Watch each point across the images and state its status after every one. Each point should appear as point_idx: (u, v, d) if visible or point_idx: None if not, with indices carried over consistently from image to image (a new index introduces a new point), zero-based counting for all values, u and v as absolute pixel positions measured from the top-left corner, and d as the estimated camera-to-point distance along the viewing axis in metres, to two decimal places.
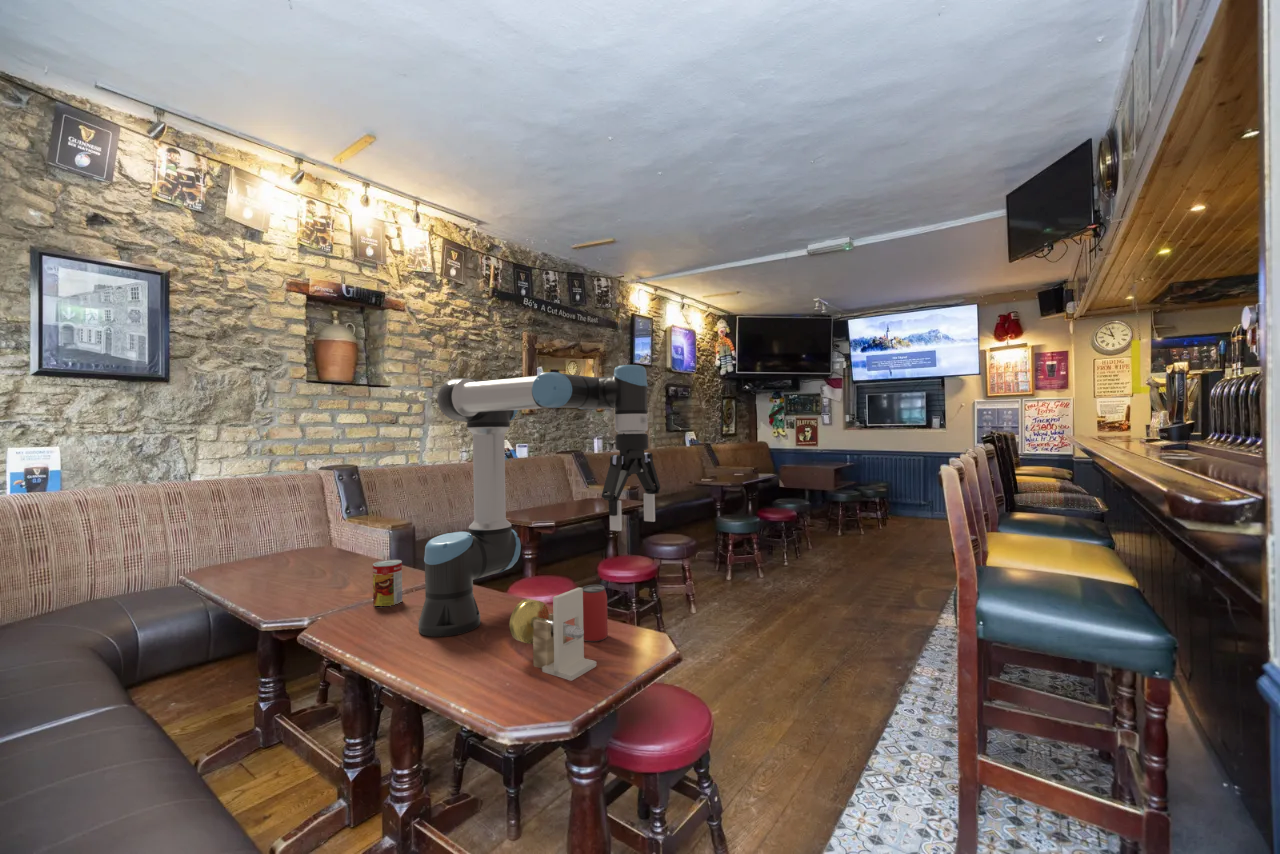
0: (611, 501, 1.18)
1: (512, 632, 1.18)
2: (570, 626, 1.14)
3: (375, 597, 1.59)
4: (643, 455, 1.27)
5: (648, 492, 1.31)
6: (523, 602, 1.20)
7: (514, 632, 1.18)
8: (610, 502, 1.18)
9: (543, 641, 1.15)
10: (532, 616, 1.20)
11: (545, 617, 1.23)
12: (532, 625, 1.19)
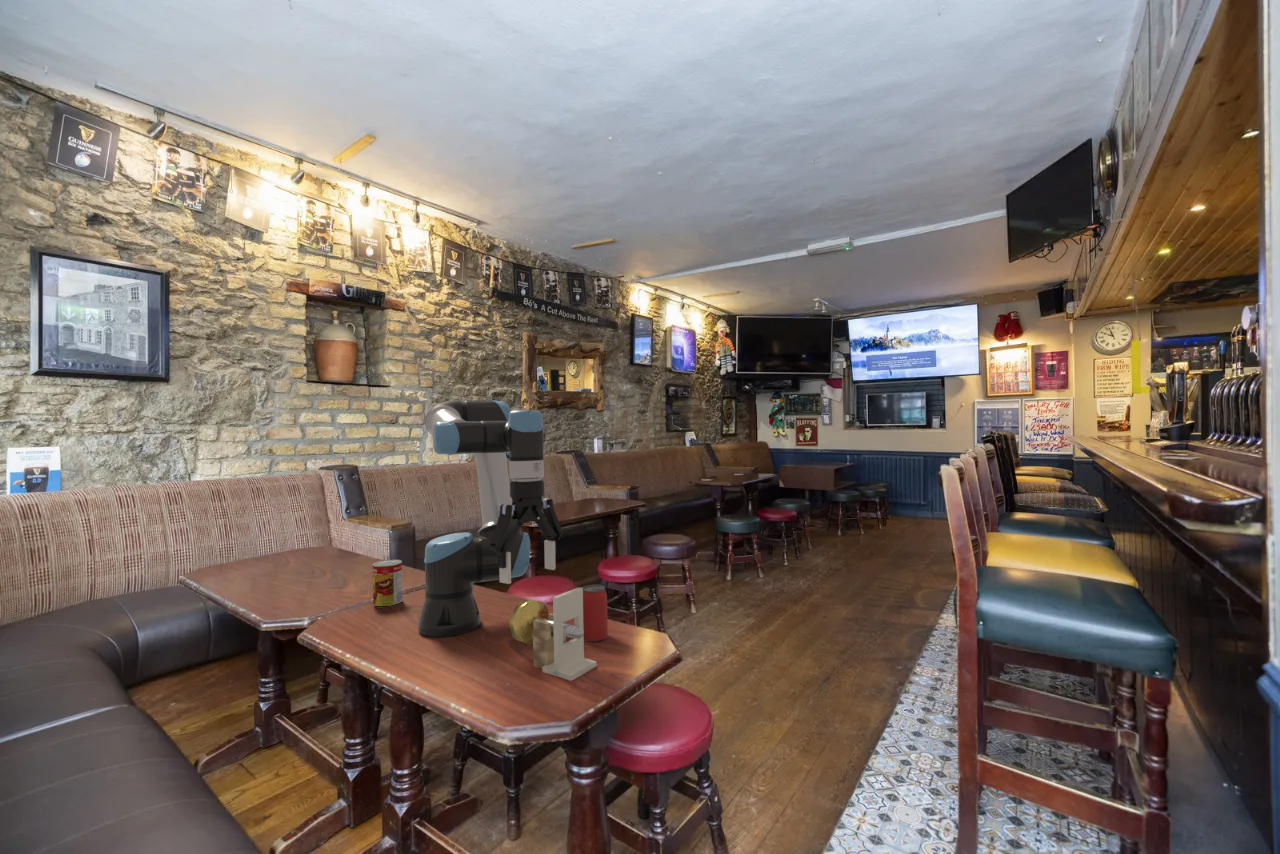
0: (499, 553, 1.14)
1: (512, 632, 1.18)
2: (570, 626, 1.14)
3: (375, 597, 1.59)
4: (540, 502, 1.23)
5: (549, 539, 1.27)
6: (523, 602, 1.20)
7: (514, 632, 1.18)
8: (498, 554, 1.14)
9: (543, 641, 1.15)
10: (532, 616, 1.20)
11: (545, 617, 1.23)
12: (532, 625, 1.19)
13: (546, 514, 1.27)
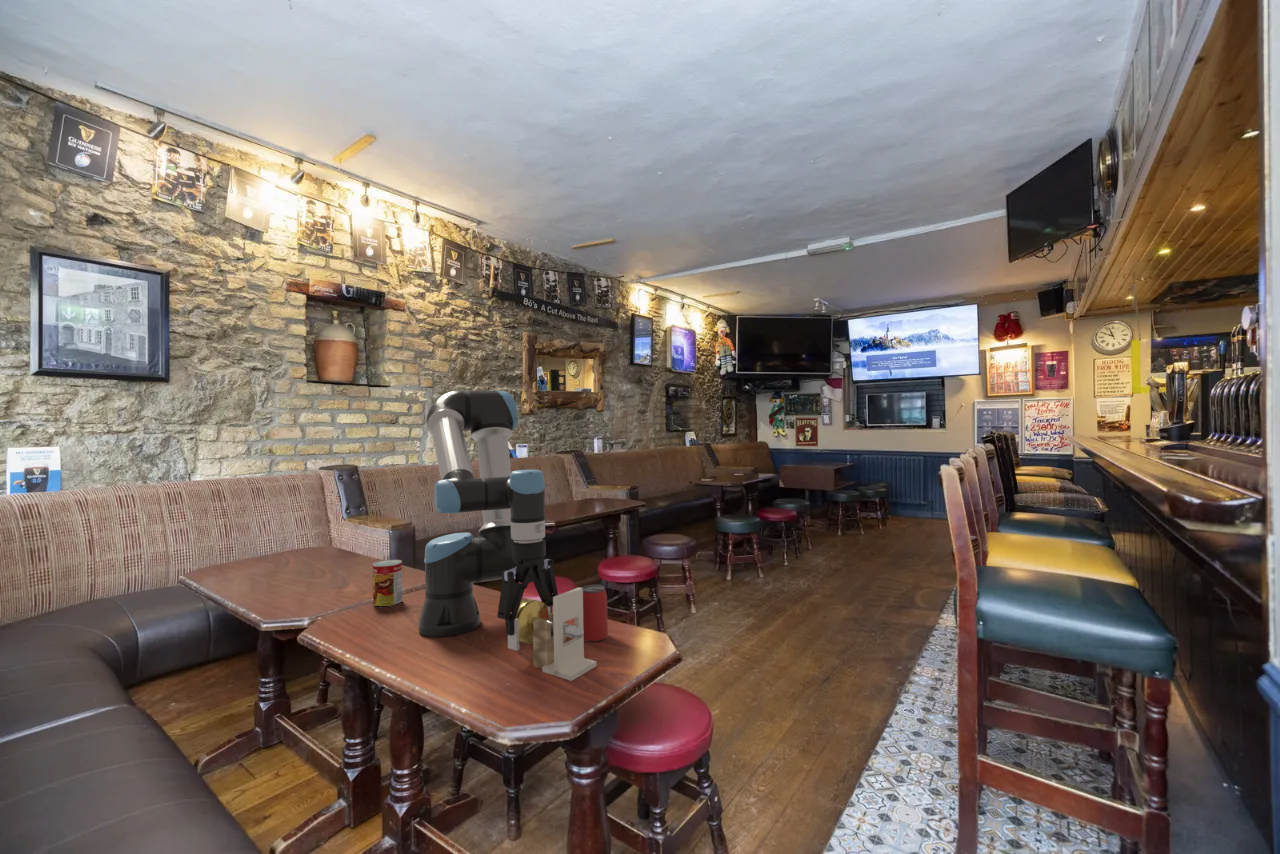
0: (507, 620, 1.16)
1: None
2: (570, 626, 1.14)
3: (375, 597, 1.59)
4: (542, 561, 1.23)
5: None
6: (523, 602, 1.20)
7: None
8: (507, 621, 1.16)
9: (543, 641, 1.15)
10: (532, 616, 1.20)
11: (545, 617, 1.23)
12: (532, 625, 1.19)
13: (545, 575, 1.26)
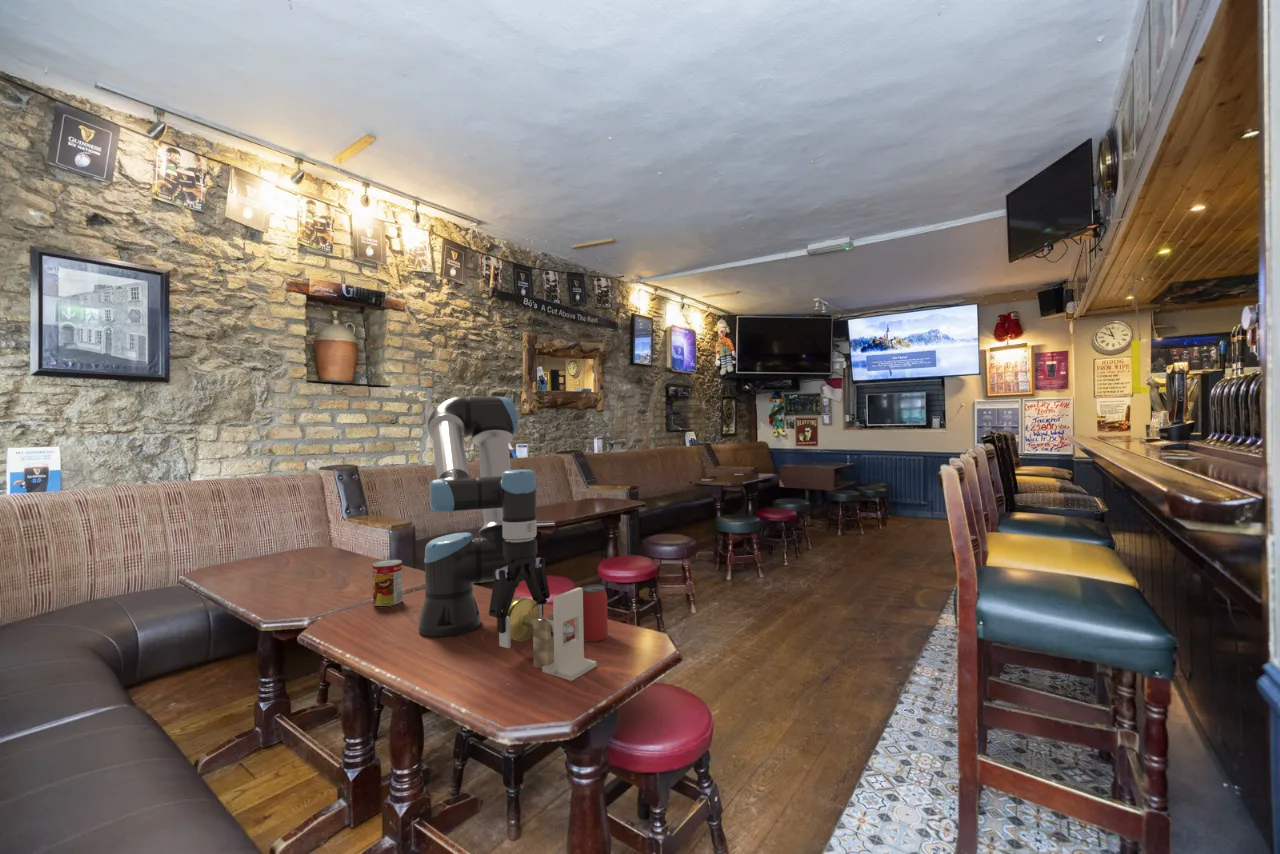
0: (499, 618, 1.17)
1: None
2: None
3: (375, 597, 1.59)
4: (533, 560, 1.25)
5: (536, 602, 1.27)
6: (514, 600, 1.22)
7: None
8: (498, 619, 1.17)
9: (543, 641, 1.15)
10: (523, 614, 1.21)
11: (536, 615, 1.25)
12: (523, 623, 1.20)
13: (537, 574, 1.28)
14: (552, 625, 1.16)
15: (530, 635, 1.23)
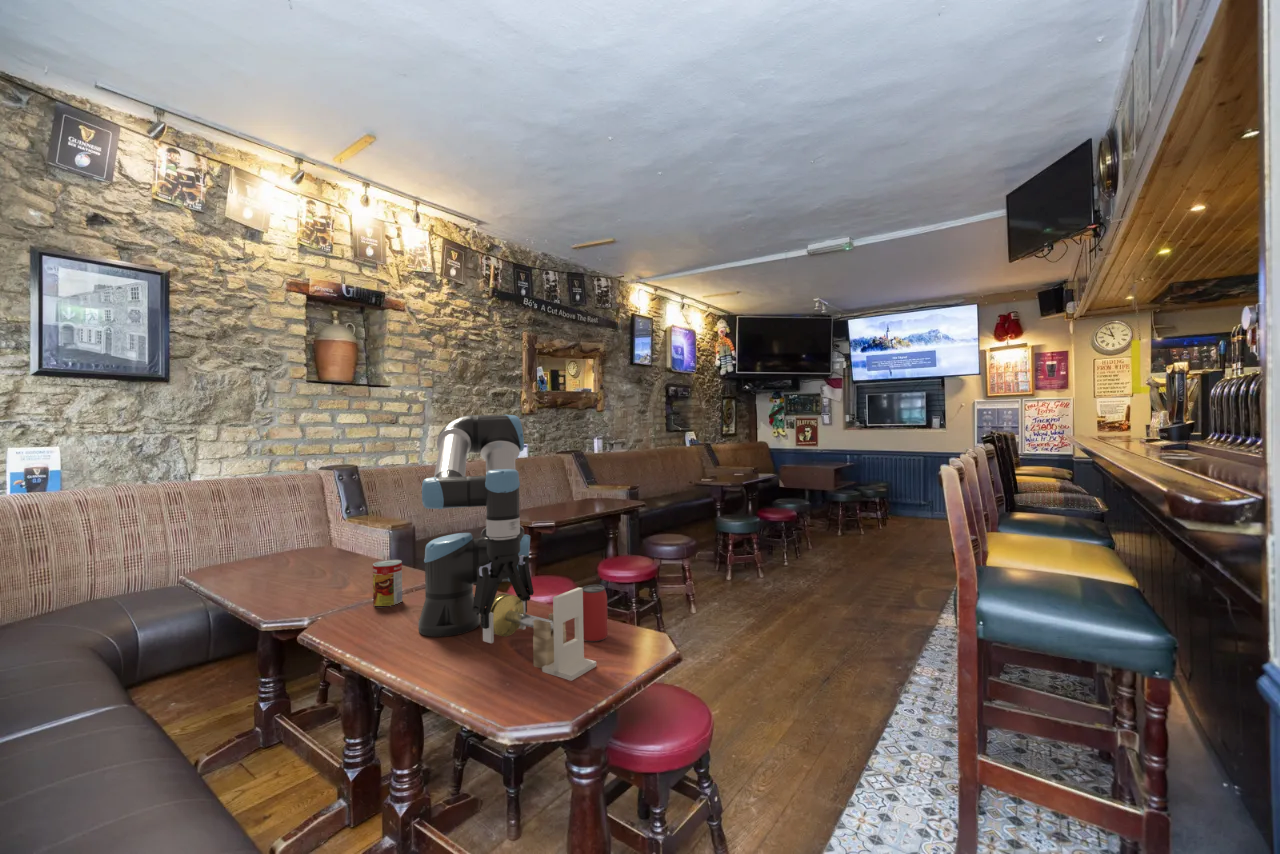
0: (482, 614, 1.20)
1: None
2: (542, 619, 1.18)
3: (375, 597, 1.59)
4: (517, 557, 1.28)
5: (520, 598, 1.30)
6: (498, 596, 1.25)
7: None
8: (481, 615, 1.20)
9: (543, 641, 1.15)
10: (507, 610, 1.24)
11: (520, 611, 1.28)
12: (506, 619, 1.23)
13: (520, 571, 1.31)
14: None
15: (513, 631, 1.26)
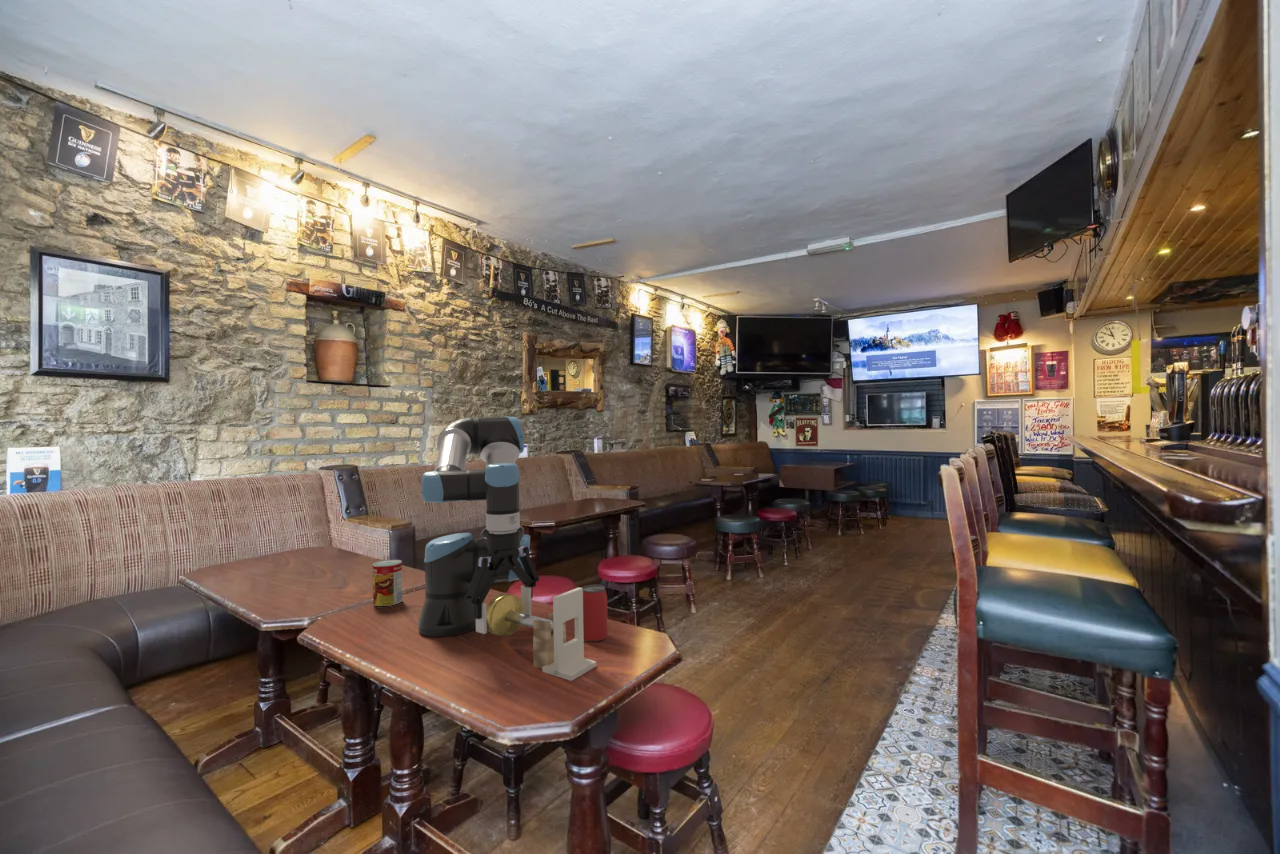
0: (475, 605, 1.19)
1: (487, 625, 1.22)
2: (542, 619, 1.18)
3: (375, 597, 1.59)
4: (516, 551, 1.28)
5: (525, 585, 1.32)
6: (498, 596, 1.25)
7: (489, 625, 1.22)
8: (474, 605, 1.19)
9: (543, 641, 1.15)
10: (507, 610, 1.24)
11: (520, 611, 1.28)
12: (506, 619, 1.23)
13: (523, 561, 1.31)
14: None
15: (513, 631, 1.26)
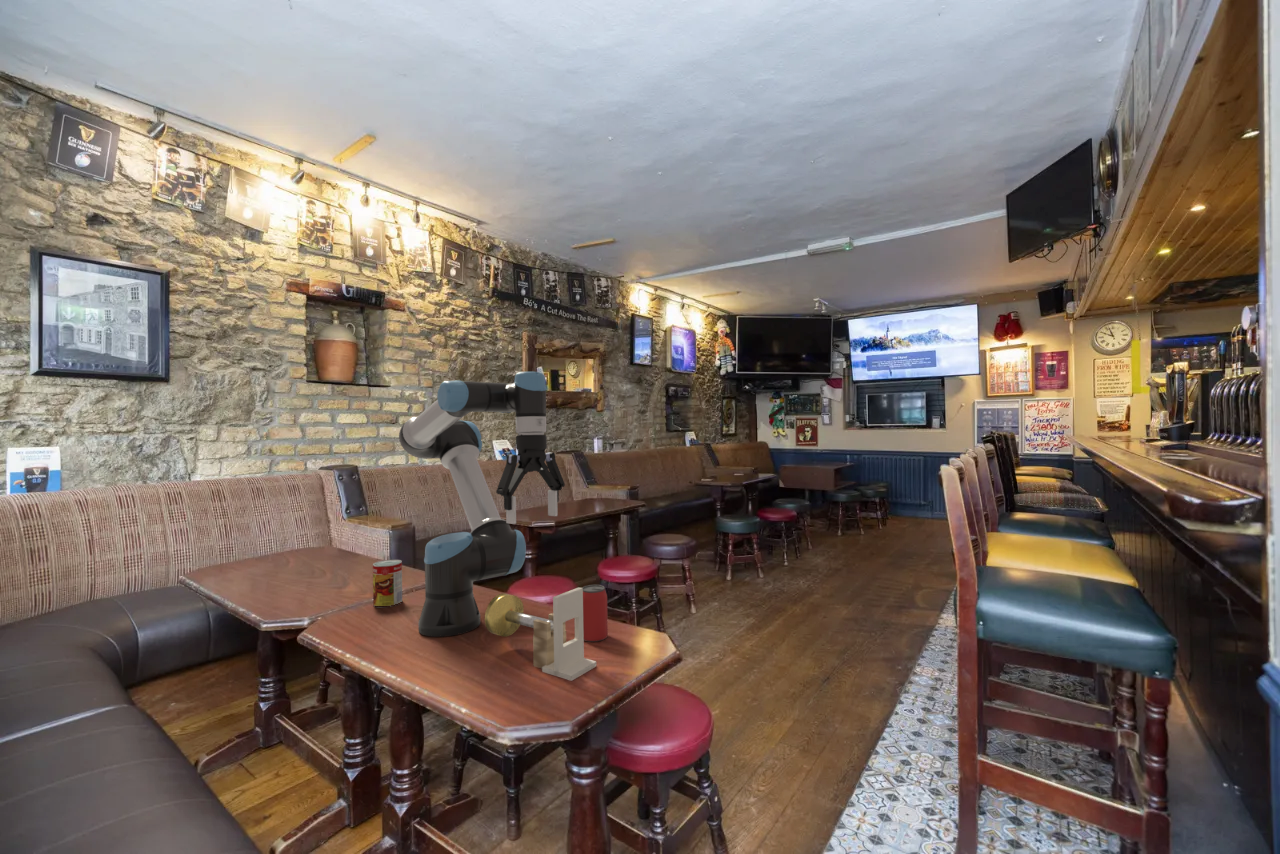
0: (505, 496, 1.29)
1: (487, 625, 1.22)
2: (542, 619, 1.18)
3: (375, 597, 1.59)
4: (543, 454, 1.38)
5: (552, 489, 1.42)
6: (498, 596, 1.25)
7: (489, 625, 1.22)
8: (505, 497, 1.29)
9: (543, 641, 1.15)
10: (507, 610, 1.24)
11: (520, 611, 1.28)
12: (506, 619, 1.23)
13: (549, 467, 1.41)
14: None
15: (513, 631, 1.26)
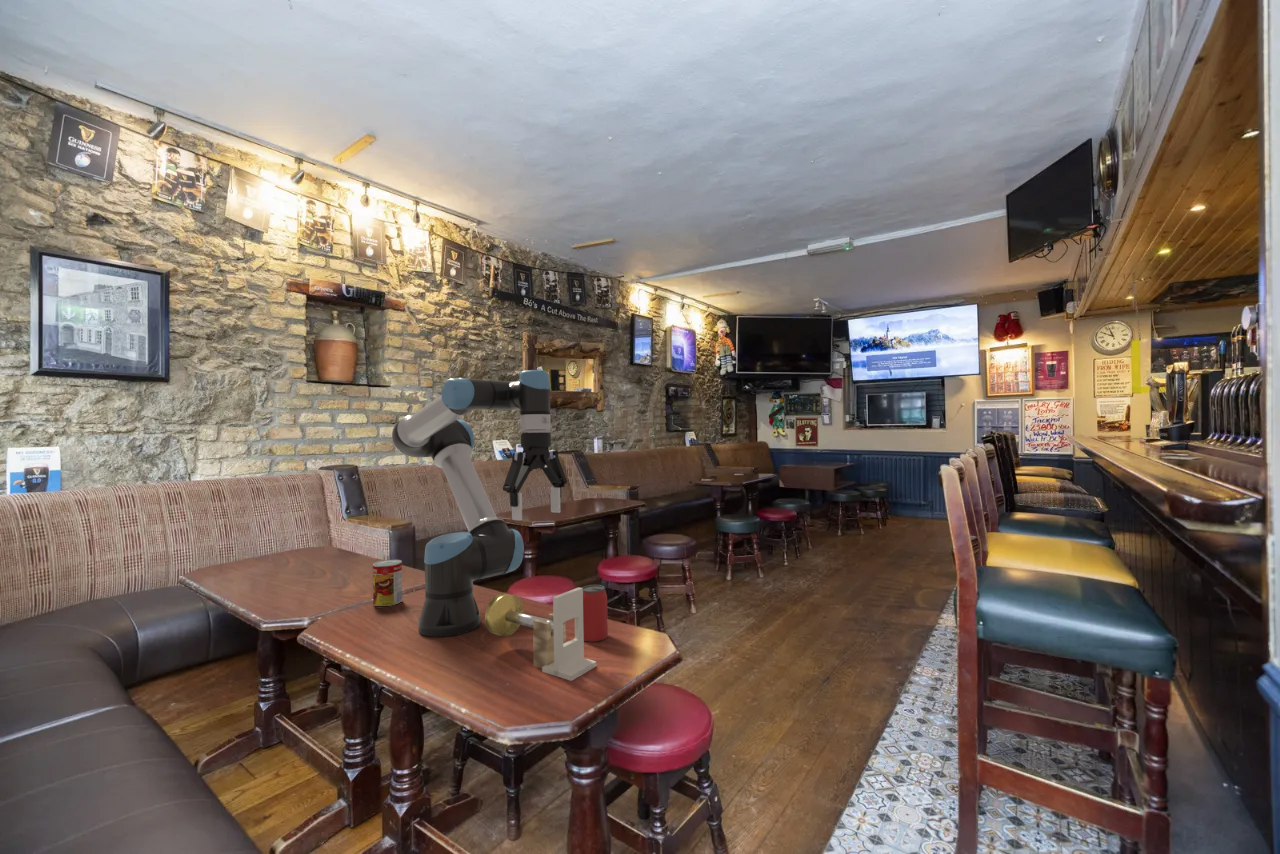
0: (512, 493, 1.31)
1: (487, 625, 1.22)
2: (542, 619, 1.18)
3: (375, 597, 1.59)
4: (547, 452, 1.40)
5: (555, 486, 1.44)
6: (498, 596, 1.25)
7: (489, 625, 1.22)
8: (511, 494, 1.31)
9: (543, 641, 1.15)
10: (507, 610, 1.24)
11: (520, 611, 1.28)
12: (506, 619, 1.23)
13: (552, 464, 1.43)
14: None
15: (513, 631, 1.26)
